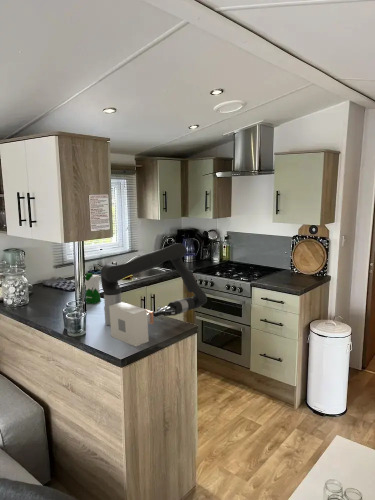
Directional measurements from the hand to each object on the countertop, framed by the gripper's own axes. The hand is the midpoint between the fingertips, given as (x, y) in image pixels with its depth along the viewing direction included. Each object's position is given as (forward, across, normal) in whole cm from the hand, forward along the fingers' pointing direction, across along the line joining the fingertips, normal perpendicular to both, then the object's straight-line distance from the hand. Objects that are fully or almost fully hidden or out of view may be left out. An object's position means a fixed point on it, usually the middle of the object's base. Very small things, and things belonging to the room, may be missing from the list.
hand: (154, 314), depth 199 cm
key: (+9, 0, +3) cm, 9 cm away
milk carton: (-6, -71, +8) cm, 72 cm away
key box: (+16, 0, +8) cm, 18 cm away
